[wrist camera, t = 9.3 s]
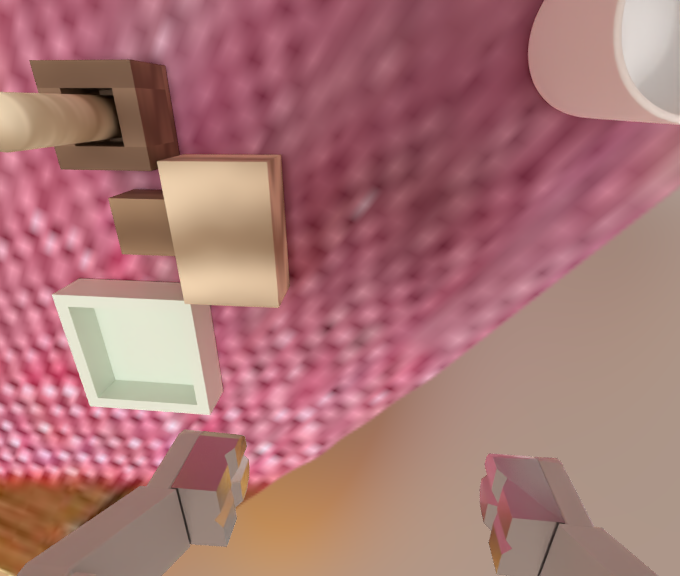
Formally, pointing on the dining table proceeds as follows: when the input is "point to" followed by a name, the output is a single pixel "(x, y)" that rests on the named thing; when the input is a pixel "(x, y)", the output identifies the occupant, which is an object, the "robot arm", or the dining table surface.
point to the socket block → (132, 108)
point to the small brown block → (142, 223)
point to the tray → (141, 345)
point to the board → (227, 227)
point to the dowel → (55, 120)
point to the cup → (608, 58)
